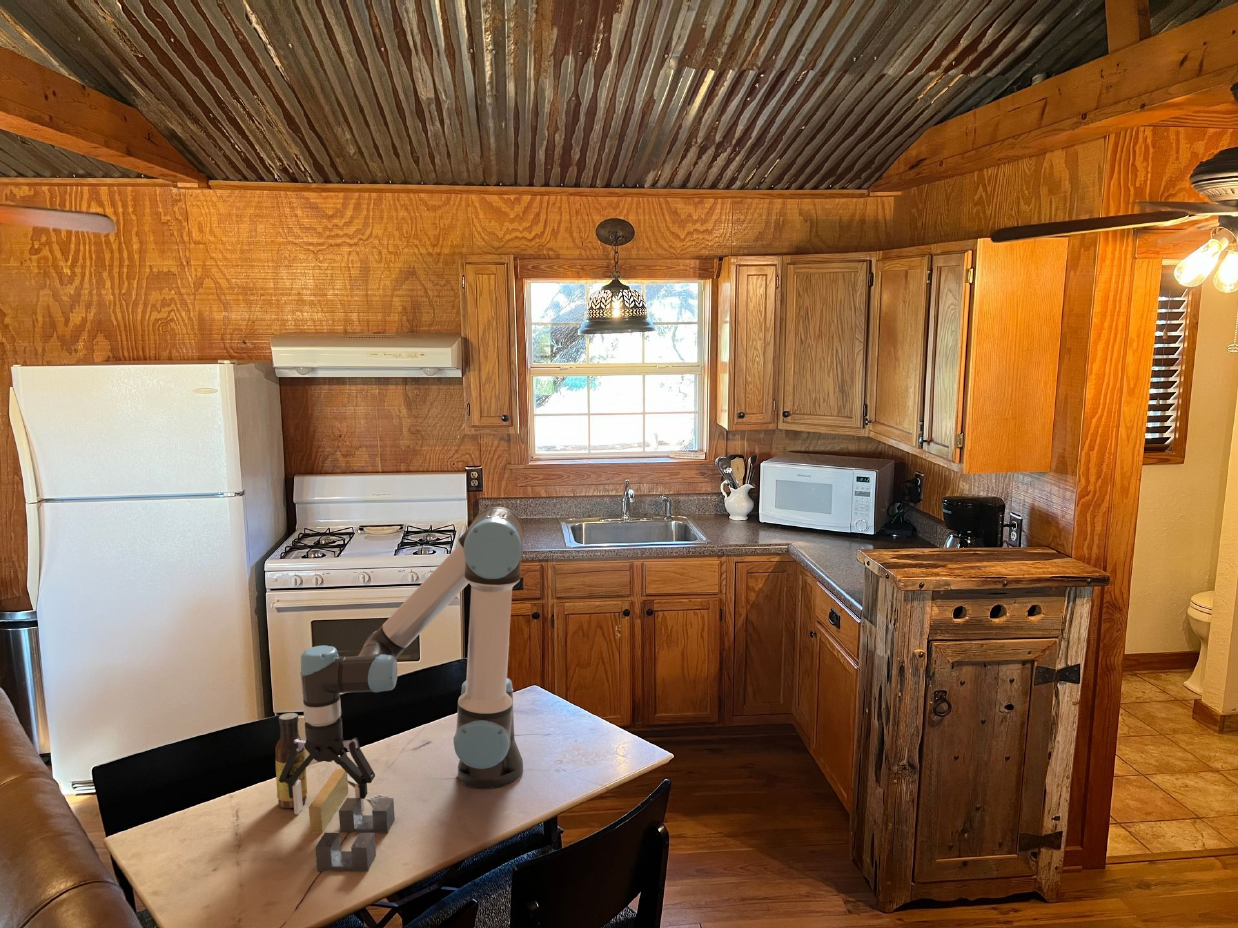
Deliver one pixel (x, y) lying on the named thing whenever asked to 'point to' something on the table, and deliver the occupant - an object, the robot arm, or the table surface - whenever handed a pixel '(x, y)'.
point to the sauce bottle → (282, 754)
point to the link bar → (328, 801)
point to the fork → (367, 791)
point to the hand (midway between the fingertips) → (329, 811)
